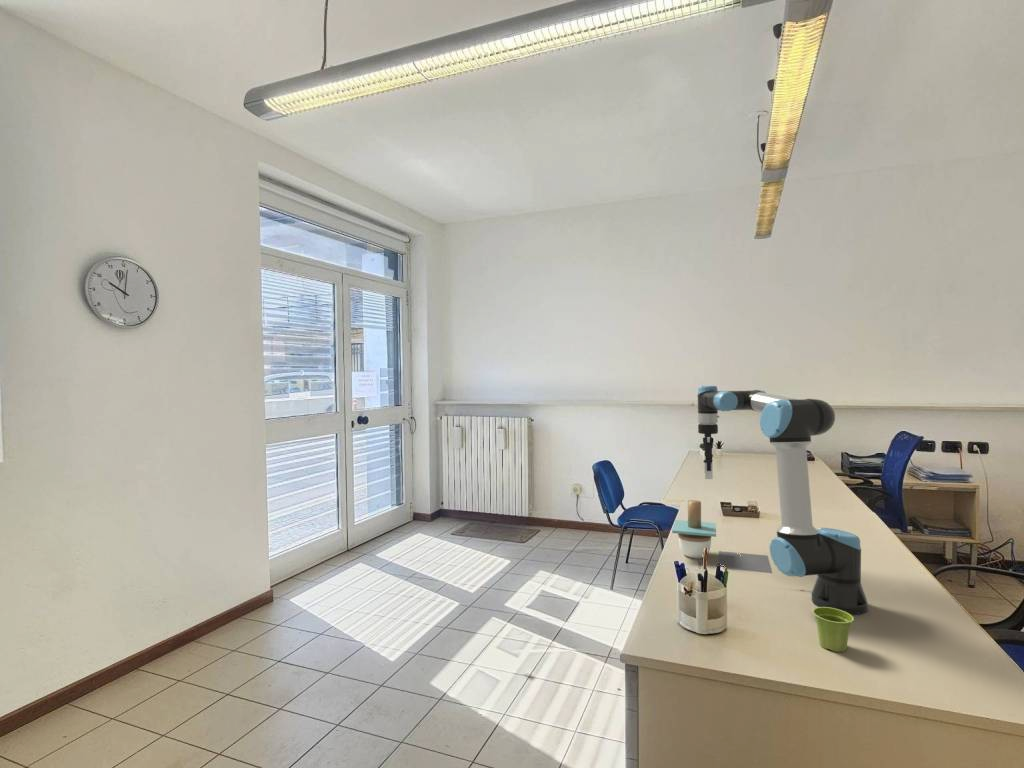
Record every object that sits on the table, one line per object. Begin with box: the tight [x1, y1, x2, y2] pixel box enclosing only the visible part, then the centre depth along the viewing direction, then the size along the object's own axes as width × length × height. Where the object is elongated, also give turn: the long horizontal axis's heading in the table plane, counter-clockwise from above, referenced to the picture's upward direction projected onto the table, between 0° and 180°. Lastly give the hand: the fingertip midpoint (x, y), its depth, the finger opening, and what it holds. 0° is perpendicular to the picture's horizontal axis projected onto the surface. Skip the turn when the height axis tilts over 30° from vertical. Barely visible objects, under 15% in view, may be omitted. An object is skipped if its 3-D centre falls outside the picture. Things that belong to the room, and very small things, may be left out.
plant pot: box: [812, 606, 855, 653], centre depth 144 cm, size 9×9×9 cm
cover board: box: [671, 499, 717, 538], centre depth 216 cm, size 16×16×11 cm
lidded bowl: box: [677, 534, 712, 559], centre depth 216 cm, size 13×13×11 cm
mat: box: [718, 550, 773, 574], centre depth 208 cm, size 20×18×1 cm
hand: (708, 476), depth 220 cm, fingers open, 13 cm apart
